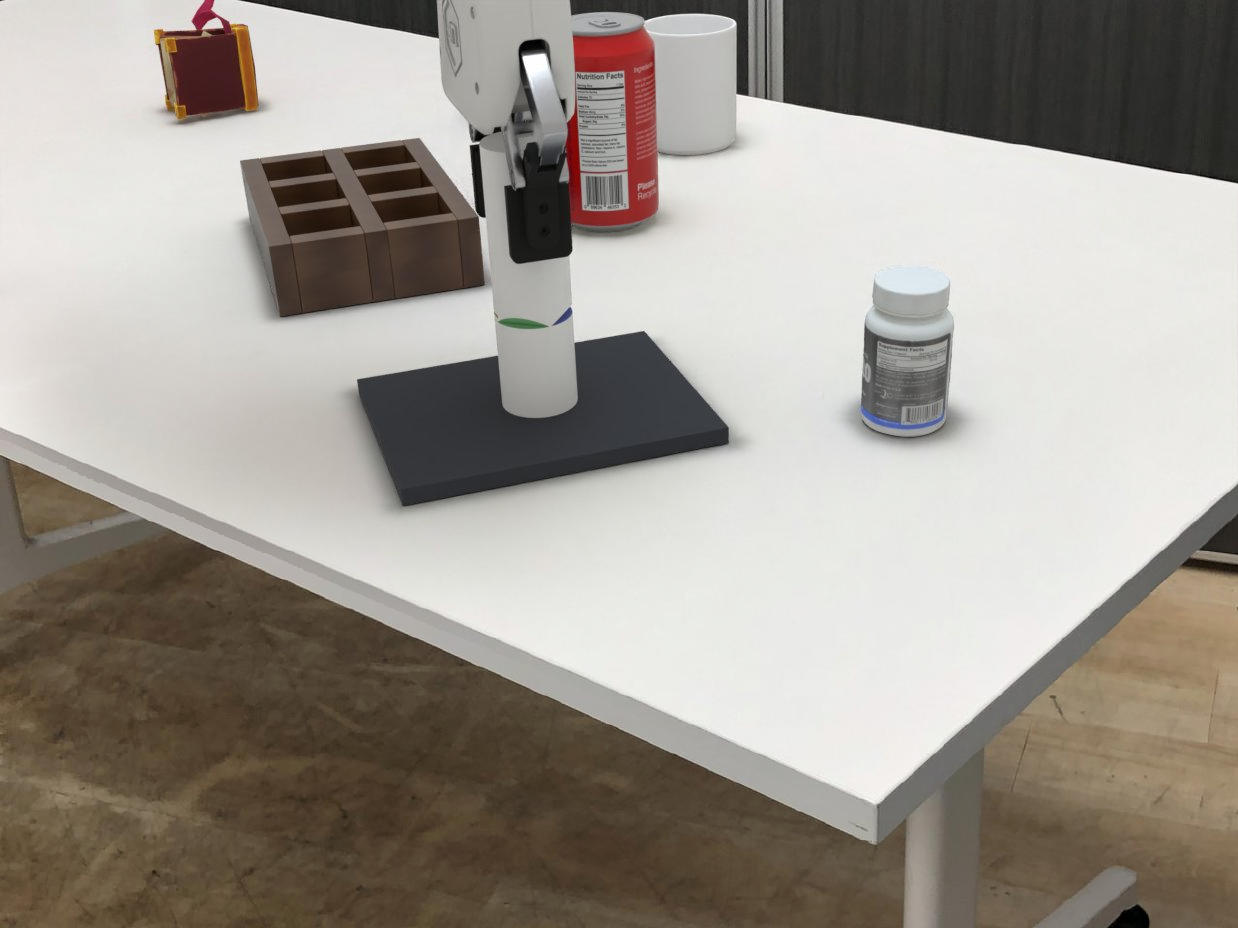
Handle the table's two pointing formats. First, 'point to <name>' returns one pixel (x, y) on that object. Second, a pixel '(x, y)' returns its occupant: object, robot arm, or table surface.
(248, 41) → the book monster
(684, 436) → the mat
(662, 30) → the mug
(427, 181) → the box
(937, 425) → the pill bottle
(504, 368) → the tube
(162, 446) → the table surface
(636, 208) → the soda can
